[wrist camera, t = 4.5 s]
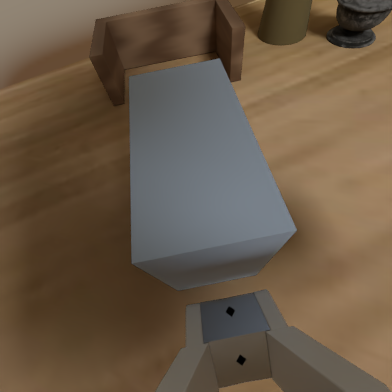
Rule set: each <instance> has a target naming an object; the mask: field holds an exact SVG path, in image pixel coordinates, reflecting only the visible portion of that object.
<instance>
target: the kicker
mask: <svg viewBox="0 0 392 392" xmlns="http://www.w3.org/2000/svg"><path fill="white" fill-rule="evenodd" d="M129 113H130V186H131V259H132V264H133V265H135V266H136V267H138V268H140V269H142V270H143V271H145V272H147V273H148V274H150V275H152V276H154V277H155V278H157V279H159V280H160V281H162V282H164V283H165V284H167V285H169V286H171V287H172V288H174V289H176V290H177V291H180V290H185V289H190V288H195V287H200V286H205V285H210V284H214V283H219V282H224V281H229V280H234V279H239V278H244V277H249V276H254V275H257V274H258V273H259V272H260V270H261V269H262V268H263V267H264V266H265V265H266V264H267V263H268V262H269V261H270V259H271V258H272V257H273V256H274V255H275V254H276V253H277V252H278V251H279V250H280V248H281V247H282V246H283V245H284V244H285V243H286V242H287V241H288V240H289V239H290V237H291V236H292V235H293V234H294V233H295V232H296V231H297V229H296V227H295V225H294V222H293V220H292V218H291V216H290V214H289V211H288V209H287V207H286V205H285V202H284V200H283V198H282V196H281V194H280V191H279V189H278V187H277V185H276V182H275V180H274V178H273V176H272V173H271V171H270V169H269V167H268V165H267V162H266V160H265V158H264V156H263V153H262V151H261V149H260V147H259V145H258V142H257V140H256V138H255V136H254V133H253V131H252V129H251V127H250V125H249V122H248V120H247V118H246V116H245V113H244V111H243V109H242V107H241V105H240V102H239V100H238V98H237V96H236V93H235V91H234V89H233V87H232V84H231V82H230V80H229V78H228V76H227V73H226V71H225V69H224V67H223V64H222V62H221V60H220V58H219V59H214V60H209V61H204V62H199V63H194V64H189V65H184V66H179V67H174V68H169V69H164V70H159V71H154V72H149V73H144V74H139V75H134V76H129Z"/></svg>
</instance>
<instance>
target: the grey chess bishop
mask: <svg viewBox="0 0 392 392" xmlns="http://www.w3.org/2000/svg"><path fill="white" fill-rule="evenodd" d="M337 1H338V3H339V4H338V7H337V15H336V18H337V21H338V23H339V25H338V26H336V27H334V28H332V29H331V30H329V31H328V33H327V36H326V37H327V40H328V41H329V42H331V43H332V44H334V45H337V46H340V47H344V48H361V47H366V46H369V45H371V44H372V43H373V42H374V41H375V39H376V36H375V34H374V32H373V31H372V30H371V28H373V27H375V26H376V25H378V24H380V23H381V22H382V21H383V20H384V19H385V18H386V17H387V16H388V15H389V13H390V12H391V10H392V0H337Z"/></svg>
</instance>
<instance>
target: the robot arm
mask: <svg viewBox="0 0 392 392" xmlns="http://www.w3.org/2000/svg"><path fill="white" fill-rule="evenodd" d="M268 378H272V379H273V380H274V381H275V383H276V384H277V385H278V386H279V387H280V388H281V389H282V390H283V391H284V392H391V391H390V390H389V389H388V387H387V386H386V385H385V384H384V383H382V382H380V381H379V380H377V379H376V378H374V377H373V376H371V375H369V374H368V373H366V372H365V371H363V370H362V369H360V368H358V367H357V366H355V365H354V364H352V363H351V362H349V361H347V360H346V359H344V358H343V357H341V356H340V355H338V354H336V353H335V352H333V351H332V350H330V349H328V348H327V347H325V346H324V345H322V344H321V343H319V342H317V341H316V340H314V339H313V338H311V337H310V336H308V335H306V334H305V333H303V332H302V331H300V330H299V329H297V328H295V327H294V326H291V327H288V325H287V323H286V321H285V320H284V318H283V316H282V314H281V313H280V311H279V309H278V307H277V305H276V304H275V302H274V300H273V298H272V297H271V295H270V293H269V291H268V290H266V289H265V290H261V291H256V292H253V293H248V294H243V295H238V296H234V297H229V298H224V299H218V300H212V301H206V302H201V303H197V304H191V305H187V306H186V347H185V348H181V349H180V351H179V353H178V354H177V356H176V358H175V359H174V361H173V363H172V364H171V366H170V368H169V369H168V371H167V373H166V374H165V376H164V378H163V379H162V381H161V383H160V384H159V386H158V388H157V389H156V391H155V392H219V388H222V387H227V386H231V385H235V384H239V383H244V382H249V381H255V380H262V379H268Z"/></svg>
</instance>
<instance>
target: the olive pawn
mask: <svg viewBox="0 0 392 392" xmlns="http://www.w3.org/2000/svg"><path fill="white" fill-rule="evenodd" d="M311 4H312V0H266V3H265V7H264V11H263V15H262V19H261V23H260V27H259V31H258V37H259V39H261V40H262V41H263V42H266V43H268V44H273V45H289V44H293V43H297V42H299V41H301V40H302V39H303V38H304V37H305V36H306V31H307V25H308V20H309V15H310V9H311Z"/></svg>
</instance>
